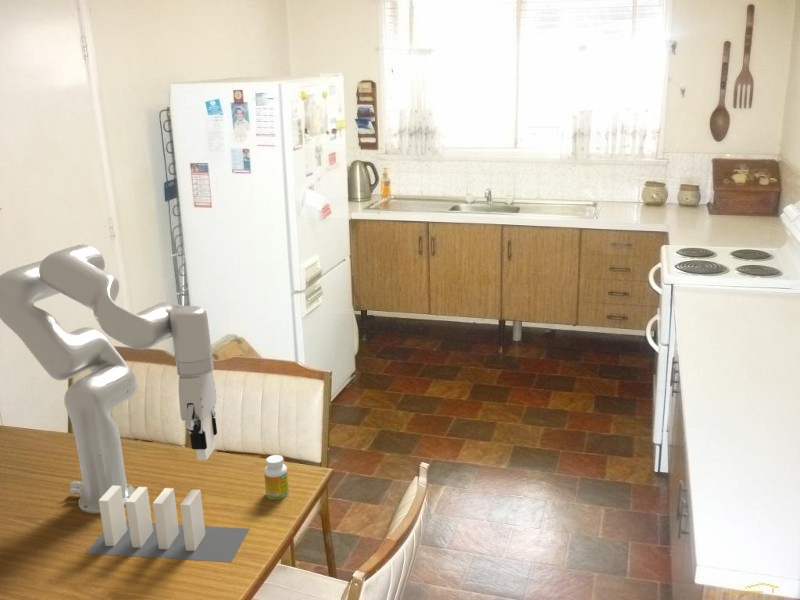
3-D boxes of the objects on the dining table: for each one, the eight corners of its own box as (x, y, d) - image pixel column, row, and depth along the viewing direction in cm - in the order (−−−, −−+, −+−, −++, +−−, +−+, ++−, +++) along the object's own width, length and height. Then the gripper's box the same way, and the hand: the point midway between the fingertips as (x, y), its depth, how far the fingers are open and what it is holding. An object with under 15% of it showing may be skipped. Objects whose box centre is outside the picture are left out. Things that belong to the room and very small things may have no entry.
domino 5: (197, 460, 164) (191, 413, 161) (206, 447, 170) (201, 401, 167) (206, 460, 164) (200, 413, 161) (215, 447, 170) (209, 401, 167)
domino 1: (105, 545, 163) (98, 500, 160) (118, 529, 169) (112, 485, 166) (114, 546, 163) (107, 500, 160) (127, 529, 168) (121, 485, 165)
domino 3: (158, 548, 162) (152, 503, 158) (170, 532, 167) (164, 488, 164) (167, 549, 161) (161, 503, 158) (179, 532, 167) (173, 488, 164)
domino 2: (132, 547, 162) (125, 501, 159) (144, 530, 168) (138, 486, 165) (141, 547, 162) (134, 502, 159) (153, 531, 168) (147, 487, 165)
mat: (85, 555, 161) (85, 553, 161) (113, 523, 172) (112, 521, 172) (231, 564, 157) (231, 562, 157) (249, 530, 168) (249, 528, 168)
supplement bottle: (284, 502, 179) (281, 465, 176) (262, 500, 180) (259, 463, 177) (292, 490, 184) (289, 454, 181) (270, 488, 185) (268, 452, 182)
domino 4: (185, 550, 161) (180, 504, 158) (196, 533, 166) (191, 489, 163) (194, 550, 161) (189, 505, 157) (205, 534, 166) (200, 489, 163)
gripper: (192, 350, 170) (201, 424, 175) (161, 380, 153) (173, 460, 159) (224, 350, 169) (233, 424, 174) (197, 380, 153) (208, 460, 158)
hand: (204, 440), depth 166 cm, fingers closed on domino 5, 5 cm apart
